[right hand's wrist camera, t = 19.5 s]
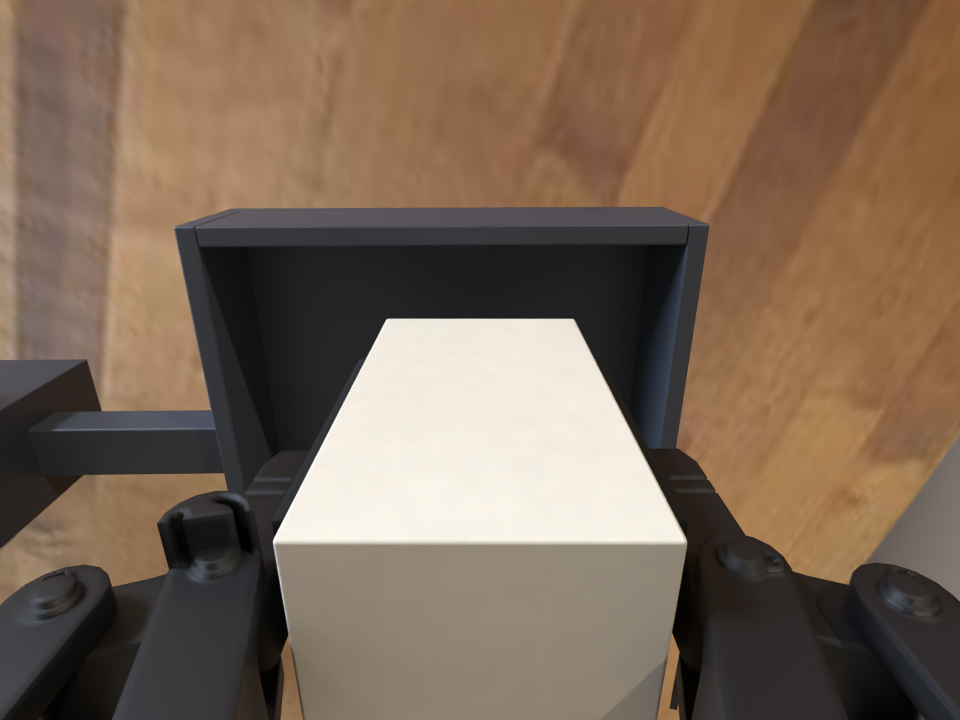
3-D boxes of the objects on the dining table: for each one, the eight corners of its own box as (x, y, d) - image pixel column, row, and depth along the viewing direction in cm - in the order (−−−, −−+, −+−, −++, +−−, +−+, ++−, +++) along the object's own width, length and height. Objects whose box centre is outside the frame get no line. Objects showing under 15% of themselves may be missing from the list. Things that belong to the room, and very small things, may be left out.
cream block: (386, 317, 14) (271, 540, 6) (574, 318, 14) (690, 542, 6) (396, 477, 16) (316, 805, 8) (564, 478, 16) (643, 805, 8)
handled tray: (31, 559, 25) (-123, 708, 18) (-103, 209, 19) (-395, 248, 13) (622, 549, 25) (676, 692, 19) (663, 206, 20) (760, 242, 13)
